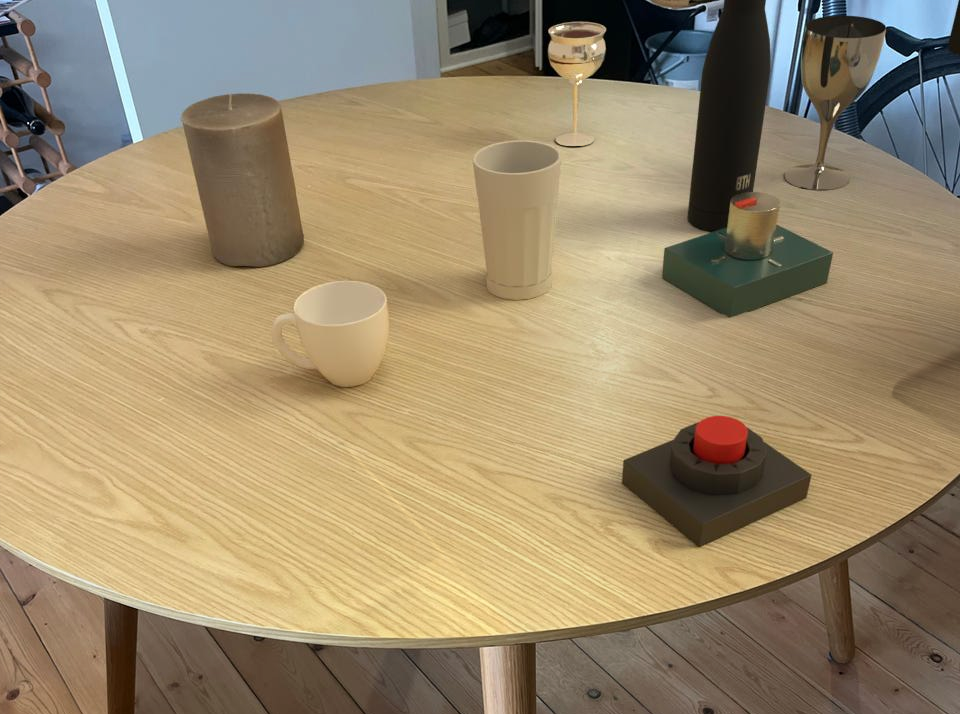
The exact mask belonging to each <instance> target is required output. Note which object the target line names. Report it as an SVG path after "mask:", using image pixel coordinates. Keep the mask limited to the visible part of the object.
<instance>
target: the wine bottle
mask: <svg viewBox="0 0 960 714" xmlns="http://www.w3.org/2000/svg"><path fill="white" fill-rule="evenodd" d="M766 2H767V0H723V6H722V7H723V9H722V11H721V14H720V15H719V18H718V20H717V23H716V26H715V28H714V30H713V33H712V35H711V37H710V41H709V44H708V48H707V51H706V54H705V58H704V64H703V67H702V70H701V81H700V90H699V100H698V108H697V109H698V110H697V119H696V120H697V121H696V128H695V129H696V130H695V141H694V147H693V148H694V149H693V157H692V158H693V160H692V169H691V179H690V189H689V198H688V199H689V201H688V206H687V207H688V209H687V218H686V219H687V221H688V223H689V224H690V225H691V226H693V227H695V228H697V229H699V230H702V231H707V232H714V231H717V230H720V229H724V228H727V225H728V217H729V209H730V202H731V199H732V197H734V196H735V195H737V194H740V193H745V192H754V188H755V182H756V176H757V175H756V174H757V167H758V160H759V153H760V147H761V142H762V141H761V139H762V133H763V126H764V119H765V112H766V105H767V99H768V91H769V84H770V78H771V71H772V69H771V68H772V65H771V63H772V61H771V60H772V59H771V58H772V56H771V55H772V53H771V39H770V38H771V37H770V32H769V25H768V18H767V11H766V4H767V3H766Z"/></svg>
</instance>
